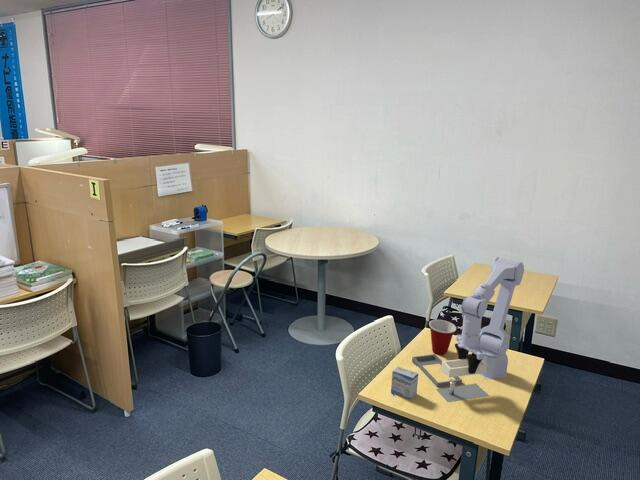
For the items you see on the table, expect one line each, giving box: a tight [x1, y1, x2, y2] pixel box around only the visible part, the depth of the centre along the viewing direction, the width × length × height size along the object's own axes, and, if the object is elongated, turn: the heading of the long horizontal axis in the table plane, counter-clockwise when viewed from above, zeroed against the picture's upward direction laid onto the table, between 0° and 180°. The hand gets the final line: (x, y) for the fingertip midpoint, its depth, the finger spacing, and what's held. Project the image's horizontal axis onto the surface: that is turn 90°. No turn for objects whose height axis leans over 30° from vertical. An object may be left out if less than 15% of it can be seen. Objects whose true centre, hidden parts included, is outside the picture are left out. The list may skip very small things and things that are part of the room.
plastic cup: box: [428, 319, 457, 356], centre depth 191 cm, size 11×11×12 cm
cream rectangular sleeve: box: [440, 358, 488, 378], centre depth 161 cm, size 16×6×3 cm, turn 103°
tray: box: [411, 353, 463, 388], centre depth 176 cm, size 10×20×2 cm, turn 15°
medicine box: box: [390, 366, 419, 400], centre depth 161 cm, size 8×4×9 cm, turn 55°
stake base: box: [435, 378, 490, 403], centre depth 162 cm, size 16×8×6 cm, turn 105°
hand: (467, 368), depth 161 cm, fingers closed on cream rectangular sleeve, 6 cm apart
